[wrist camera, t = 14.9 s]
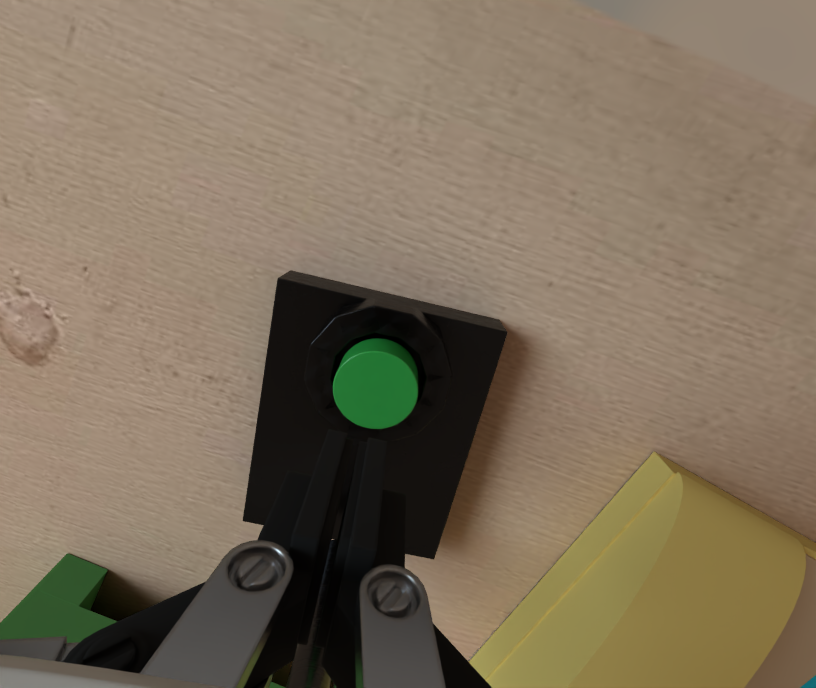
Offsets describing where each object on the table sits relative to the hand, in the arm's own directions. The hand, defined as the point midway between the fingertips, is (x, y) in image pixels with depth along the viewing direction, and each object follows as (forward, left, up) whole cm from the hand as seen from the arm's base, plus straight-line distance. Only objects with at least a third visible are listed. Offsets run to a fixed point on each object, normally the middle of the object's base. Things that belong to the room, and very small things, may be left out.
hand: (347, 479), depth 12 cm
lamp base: (+4, 0, -12) cm, 13 cm away
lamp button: (0, 0, -8) cm, 8 cm away
